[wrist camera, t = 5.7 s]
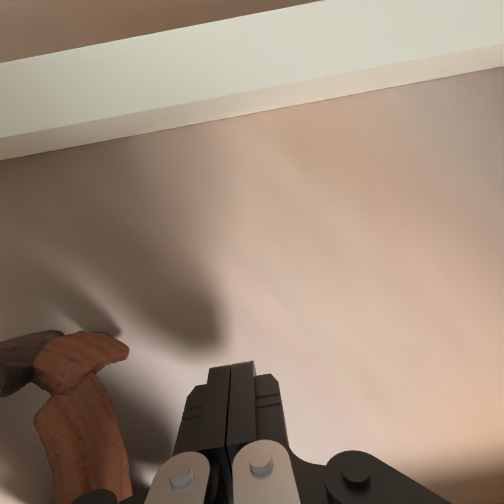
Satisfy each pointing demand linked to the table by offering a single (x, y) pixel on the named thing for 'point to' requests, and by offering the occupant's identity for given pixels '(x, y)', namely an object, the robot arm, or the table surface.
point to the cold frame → (240, 68)
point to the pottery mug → (72, 408)
